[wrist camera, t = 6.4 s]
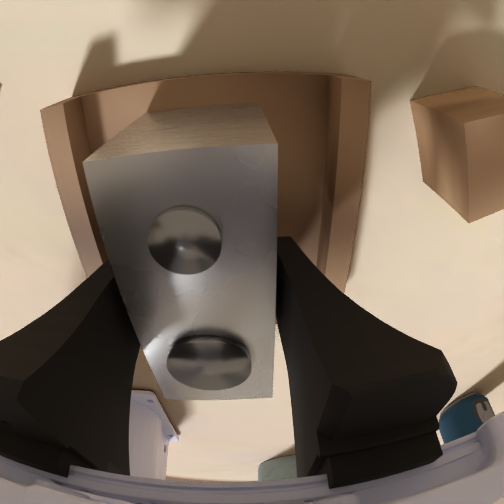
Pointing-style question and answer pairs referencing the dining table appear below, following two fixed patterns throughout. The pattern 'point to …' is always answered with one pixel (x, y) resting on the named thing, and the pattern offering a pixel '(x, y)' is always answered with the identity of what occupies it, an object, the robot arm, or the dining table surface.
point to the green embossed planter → (278, 468)
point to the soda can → (464, 416)
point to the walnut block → (463, 148)
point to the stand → (285, 132)
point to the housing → (195, 244)
